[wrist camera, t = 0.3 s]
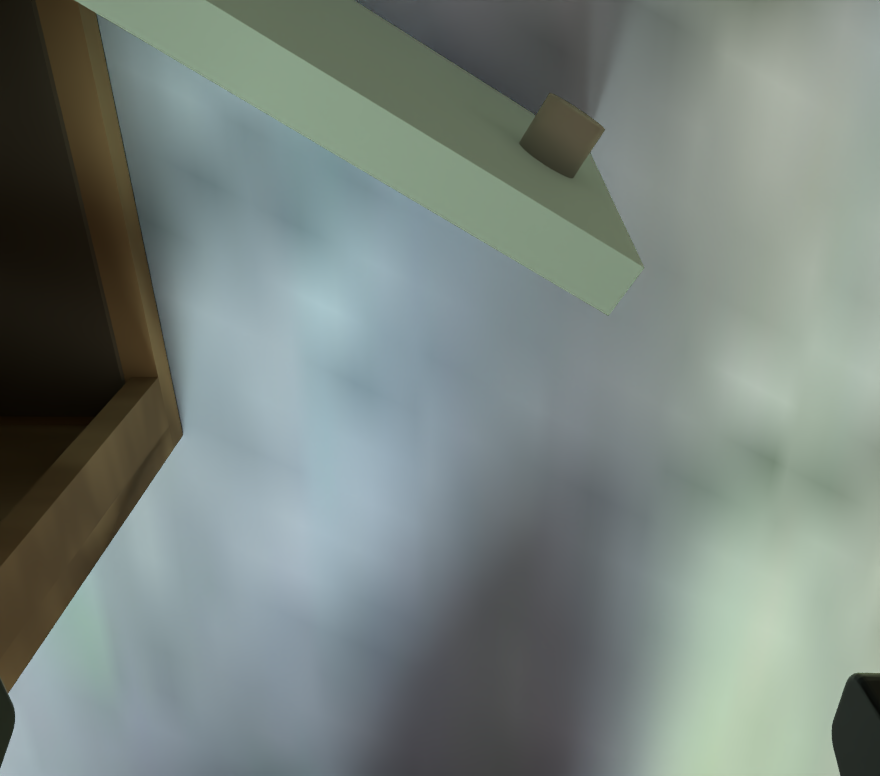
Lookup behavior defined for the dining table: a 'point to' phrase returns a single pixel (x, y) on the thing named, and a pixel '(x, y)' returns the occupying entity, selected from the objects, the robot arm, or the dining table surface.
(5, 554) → the walnut box
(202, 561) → the dining table surface
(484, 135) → the door
